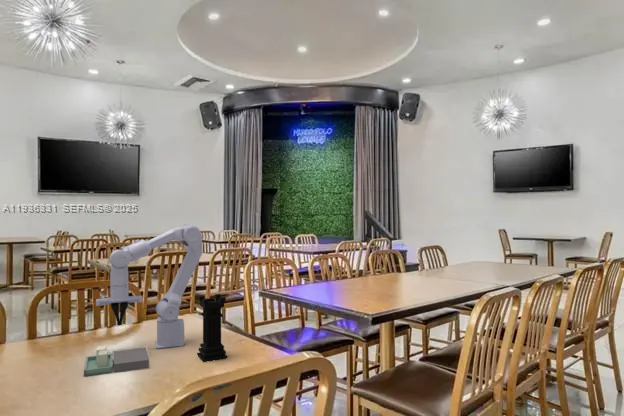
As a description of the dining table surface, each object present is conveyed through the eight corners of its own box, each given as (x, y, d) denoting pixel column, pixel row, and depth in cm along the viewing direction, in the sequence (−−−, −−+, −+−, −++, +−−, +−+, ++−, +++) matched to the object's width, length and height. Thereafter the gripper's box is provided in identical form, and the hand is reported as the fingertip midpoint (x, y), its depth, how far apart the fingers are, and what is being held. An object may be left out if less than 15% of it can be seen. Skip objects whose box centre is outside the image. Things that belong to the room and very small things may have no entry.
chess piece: (203, 362, 146) (202, 300, 146) (197, 355, 153) (197, 295, 153) (227, 358, 150) (227, 297, 150) (220, 351, 157) (220, 293, 157)
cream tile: (105, 345, 147) (97, 346, 147) (105, 349, 143) (96, 350, 142) (105, 359, 147) (97, 360, 147) (105, 363, 143) (96, 364, 142)
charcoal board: (145, 354, 154) (145, 347, 154) (148, 367, 141) (148, 359, 141) (113, 359, 150) (113, 351, 150) (113, 372, 137) (113, 364, 137)
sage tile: (108, 349, 143) (99, 350, 142) (106, 354, 138) (97, 355, 138) (108, 364, 143) (99, 365, 142) (107, 369, 139) (97, 370, 138)
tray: (112, 359, 149) (112, 353, 149) (112, 372, 137) (112, 366, 137) (86, 362, 146) (86, 356, 146) (83, 376, 134) (83, 370, 134)
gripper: (141, 281, 163) (141, 319, 163) (96, 284, 157) (96, 324, 157) (142, 285, 157) (142, 324, 157) (95, 288, 151) (95, 329, 151)
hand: (119, 324), depth 157 cm, fingers closed
